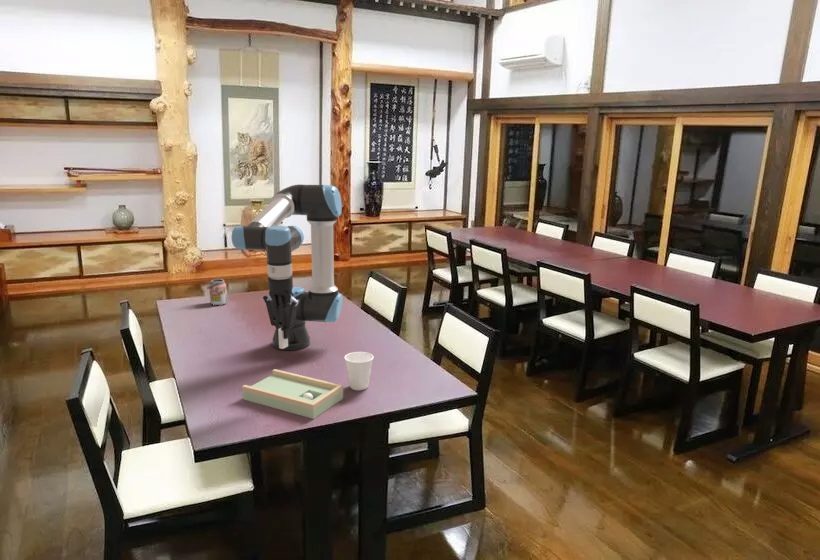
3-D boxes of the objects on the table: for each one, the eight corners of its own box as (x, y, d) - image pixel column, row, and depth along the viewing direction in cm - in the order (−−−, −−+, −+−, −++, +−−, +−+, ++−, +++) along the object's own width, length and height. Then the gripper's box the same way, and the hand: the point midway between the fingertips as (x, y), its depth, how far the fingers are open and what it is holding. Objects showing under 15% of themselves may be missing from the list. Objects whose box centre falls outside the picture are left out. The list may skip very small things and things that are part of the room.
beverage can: (205, 305, 287) (203, 282, 284) (213, 300, 295) (211, 278, 292) (222, 306, 286) (221, 283, 283) (230, 302, 294) (229, 279, 291)
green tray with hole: (243, 399, 187) (242, 386, 186) (275, 381, 201) (274, 369, 200) (313, 418, 175) (313, 405, 174) (343, 398, 189) (342, 385, 188)
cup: (345, 381, 202) (344, 351, 199) (373, 380, 203) (373, 351, 200) (344, 393, 193) (343, 362, 190) (374, 393, 193) (374, 362, 191)
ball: (303, 393, 183) (310, 402, 182) (310, 389, 186) (317, 397, 185) (298, 398, 185) (304, 407, 184) (304, 394, 188) (311, 402, 187)
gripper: (255, 276, 179) (260, 347, 186) (289, 282, 174) (292, 355, 180) (271, 271, 186) (275, 339, 192) (304, 276, 180) (307, 347, 187)
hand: (283, 347), depth 186 cm, fingers closed
